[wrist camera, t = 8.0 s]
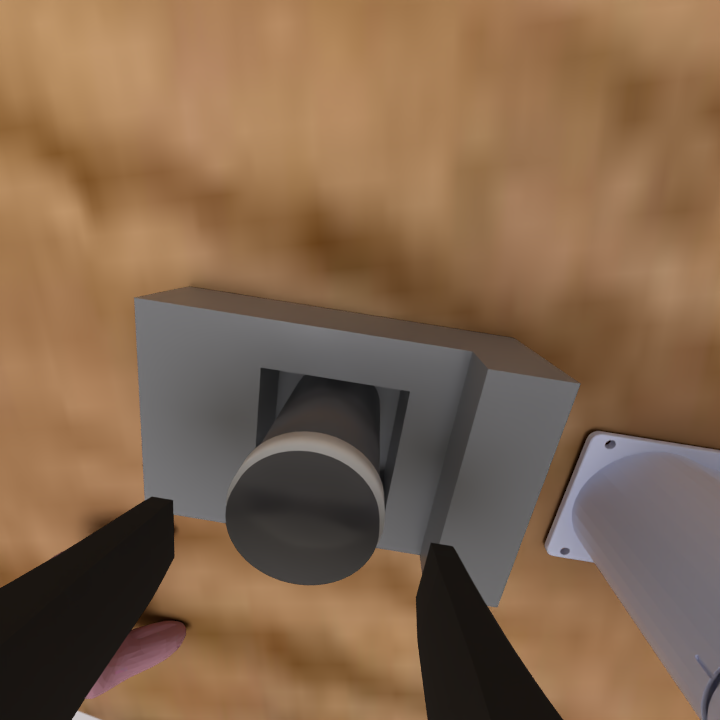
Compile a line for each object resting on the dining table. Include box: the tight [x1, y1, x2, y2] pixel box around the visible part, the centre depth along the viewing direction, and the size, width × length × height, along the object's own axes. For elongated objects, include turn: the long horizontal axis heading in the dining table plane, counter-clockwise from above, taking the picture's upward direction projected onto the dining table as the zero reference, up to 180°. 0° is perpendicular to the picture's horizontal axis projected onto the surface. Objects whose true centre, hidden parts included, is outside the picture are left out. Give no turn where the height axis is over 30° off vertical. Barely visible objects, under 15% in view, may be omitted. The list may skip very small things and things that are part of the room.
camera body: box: [134, 287, 580, 607], centre depth 16 cm, size 16×10×6 cm, turn 82°
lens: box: [225, 375, 385, 585], centre depth 14 cm, size 5×5×8 cm
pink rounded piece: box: [51, 551, 186, 699], centre depth 21 cm, size 10×5×7 cm, turn 177°
